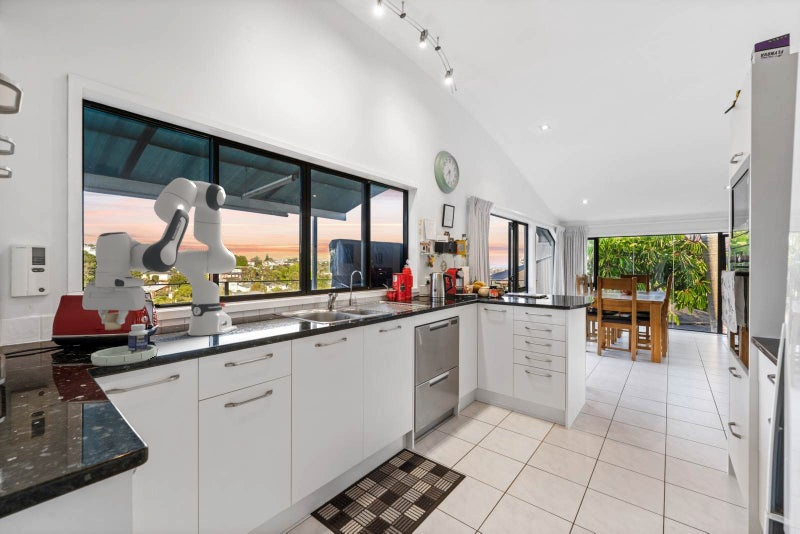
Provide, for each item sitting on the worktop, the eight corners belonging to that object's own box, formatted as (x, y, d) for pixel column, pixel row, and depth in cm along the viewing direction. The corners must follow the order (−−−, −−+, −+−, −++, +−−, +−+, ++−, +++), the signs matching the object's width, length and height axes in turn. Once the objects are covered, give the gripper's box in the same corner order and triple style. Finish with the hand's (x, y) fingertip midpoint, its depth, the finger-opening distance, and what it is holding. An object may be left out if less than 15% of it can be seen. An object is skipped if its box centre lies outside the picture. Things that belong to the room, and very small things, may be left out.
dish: (127, 351, 126) (127, 344, 126) (168, 353, 124) (168, 345, 124) (77, 364, 110) (77, 355, 110) (123, 367, 107) (123, 358, 107)
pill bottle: (137, 354, 118) (137, 326, 118) (124, 354, 119) (124, 325, 119) (151, 351, 123) (151, 323, 123) (138, 350, 124) (138, 323, 124)
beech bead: (113, 327, 114) (113, 312, 114) (124, 327, 114) (124, 312, 114) (101, 329, 110) (101, 314, 110) (112, 330, 110) (112, 314, 110)
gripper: (76, 281, 111) (75, 324, 111) (131, 281, 108) (131, 326, 107) (96, 281, 117) (96, 321, 117) (148, 281, 114) (148, 322, 114)
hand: (113, 323), depth 112 cm, fingers closed on beech bead, 4 cm apart
